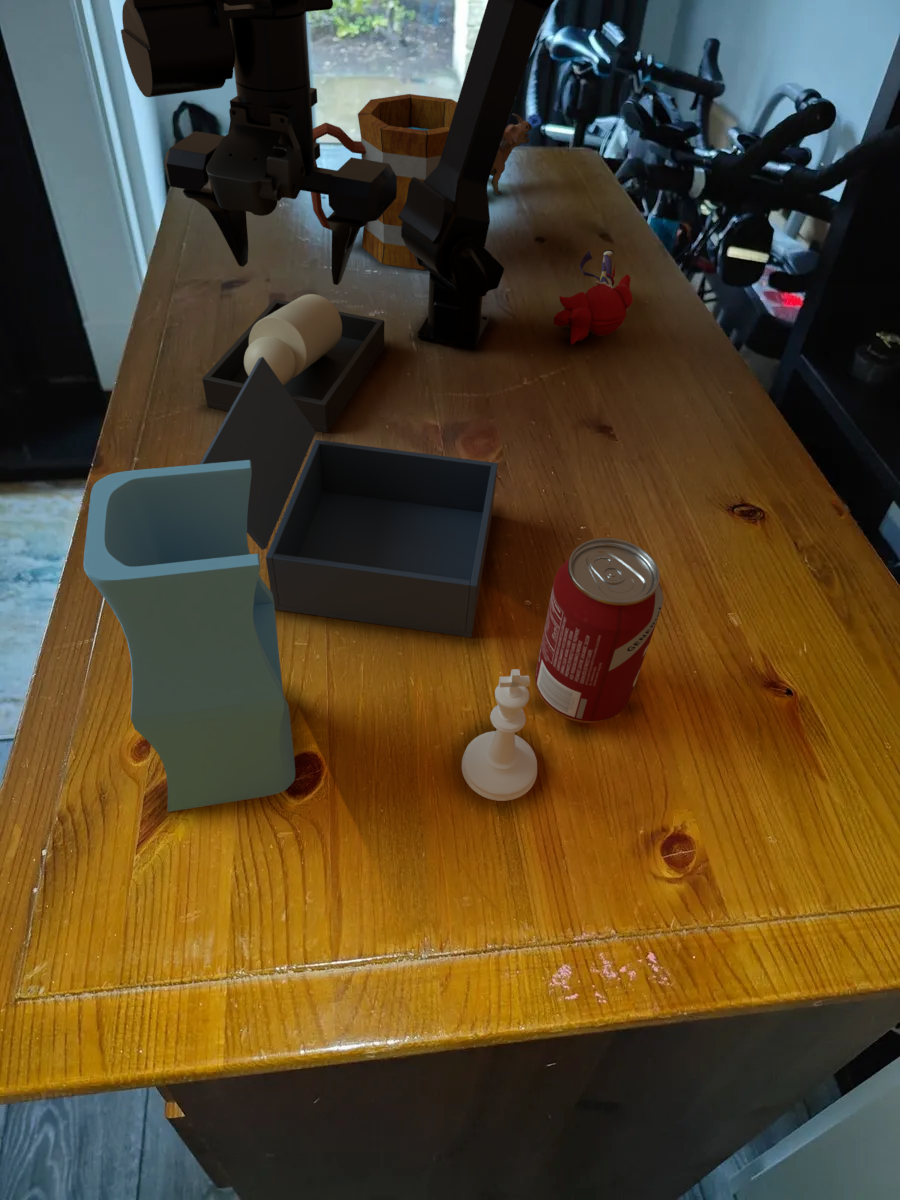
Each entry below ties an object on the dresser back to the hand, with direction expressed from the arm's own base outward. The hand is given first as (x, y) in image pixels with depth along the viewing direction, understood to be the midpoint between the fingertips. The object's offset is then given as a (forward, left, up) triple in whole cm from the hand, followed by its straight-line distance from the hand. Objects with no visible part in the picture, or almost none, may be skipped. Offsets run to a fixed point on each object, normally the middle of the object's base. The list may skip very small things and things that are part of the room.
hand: (290, 273), depth 77 cm
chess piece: (+38, +30, -11) cm, 50 cm away
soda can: (+30, +34, -11) cm, 47 cm away
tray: (0, 0, -11) cm, 11 cm away
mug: (-31, -1, -11) cm, 33 cm away
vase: (+42, +13, -11) cm, 45 cm away
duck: (-4, 0, -7) cm, 8 cm away
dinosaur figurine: (-52, +5, -11) cm, 54 cm away
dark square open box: (+22, +17, -11) cm, 30 cm away
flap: (+23, +8, -1) cm, 25 cm away
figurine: (-22, +26, -11) cm, 36 cm away
